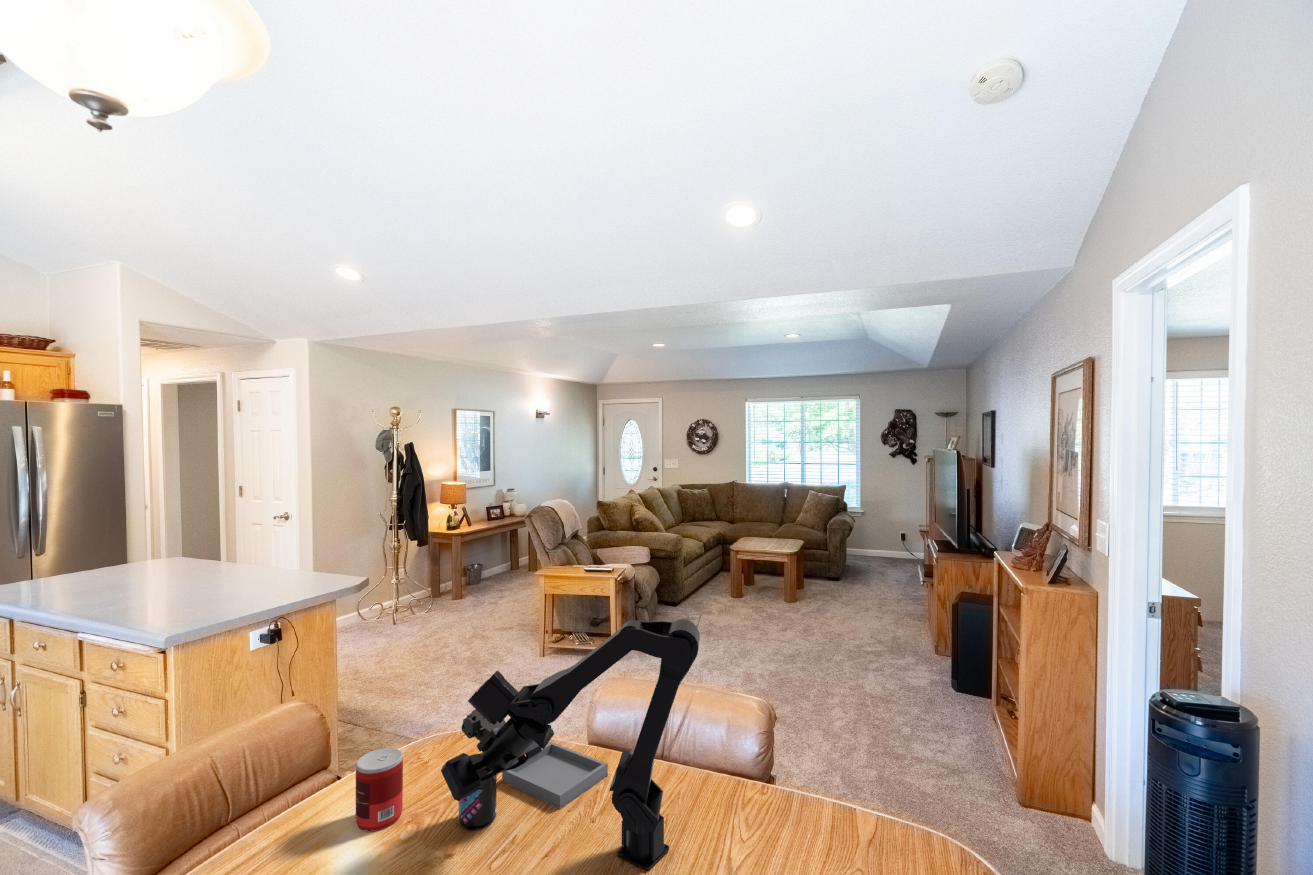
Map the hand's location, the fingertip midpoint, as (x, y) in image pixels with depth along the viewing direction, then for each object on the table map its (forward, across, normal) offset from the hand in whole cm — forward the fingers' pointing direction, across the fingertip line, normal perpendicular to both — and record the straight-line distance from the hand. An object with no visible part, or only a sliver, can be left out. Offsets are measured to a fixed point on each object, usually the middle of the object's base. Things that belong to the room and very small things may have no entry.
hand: (472, 780), depth 112 cm
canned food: (+14, +10, -5) cm, 18 cm away
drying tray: (+2, -18, +7) cm, 19 cm away
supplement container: (+4, 0, +6) cm, 7 cm away
